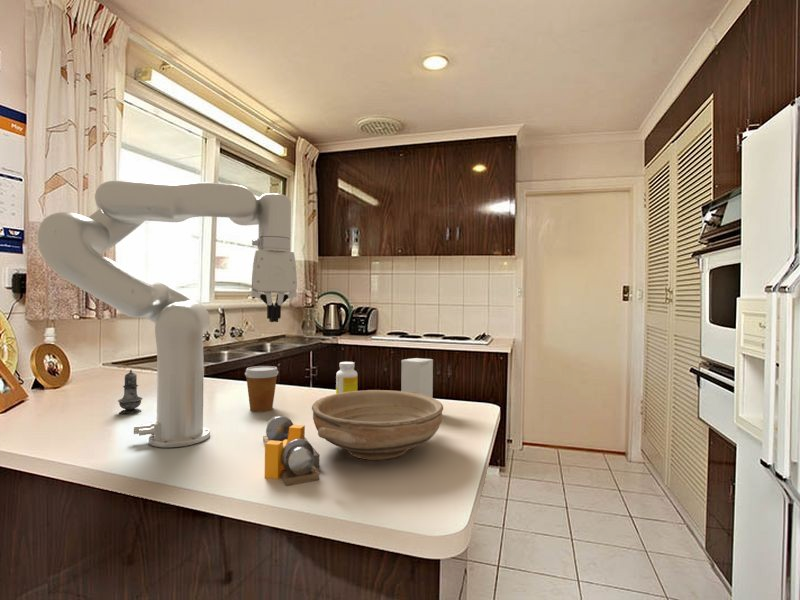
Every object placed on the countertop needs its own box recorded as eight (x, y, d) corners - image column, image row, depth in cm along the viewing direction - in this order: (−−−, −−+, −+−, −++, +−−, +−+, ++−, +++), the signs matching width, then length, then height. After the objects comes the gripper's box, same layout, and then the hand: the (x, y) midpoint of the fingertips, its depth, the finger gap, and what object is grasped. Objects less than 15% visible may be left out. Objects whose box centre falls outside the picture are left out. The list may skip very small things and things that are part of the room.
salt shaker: (112, 413, 119) (113, 370, 119) (133, 408, 125) (133, 367, 125) (127, 415, 117) (127, 372, 117) (147, 410, 123) (147, 368, 122)
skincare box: (418, 418, 119) (419, 362, 119) (398, 414, 123) (399, 359, 122) (433, 411, 126) (434, 358, 126) (414, 408, 130) (415, 356, 129)
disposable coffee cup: (259, 415, 120) (259, 372, 120) (237, 410, 125) (237, 368, 125) (285, 407, 128) (285, 367, 128) (263, 403, 133) (263, 364, 133)
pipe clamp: (285, 454, 91) (285, 424, 91) (304, 456, 90) (304, 425, 90) (255, 477, 79) (256, 442, 79) (277, 480, 78) (278, 444, 78)
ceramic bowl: (367, 419, 117) (368, 382, 117) (467, 435, 104) (467, 394, 104) (267, 464, 85) (268, 414, 85) (395, 498, 71) (396, 438, 71)
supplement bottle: (361, 403, 135) (362, 362, 135) (348, 407, 129) (348, 365, 129) (345, 400, 138) (345, 360, 138) (331, 404, 133) (331, 363, 133)
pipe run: (285, 485, 75) (286, 449, 75) (263, 441, 98) (263, 413, 98) (327, 478, 79) (327, 443, 79) (295, 436, 102) (296, 409, 101)
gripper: (243, 242, 97) (242, 323, 97) (309, 246, 104) (308, 322, 104) (240, 245, 104) (239, 321, 104) (301, 249, 111) (300, 320, 111)
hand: (273, 321), depth 104 cm, fingers closed
